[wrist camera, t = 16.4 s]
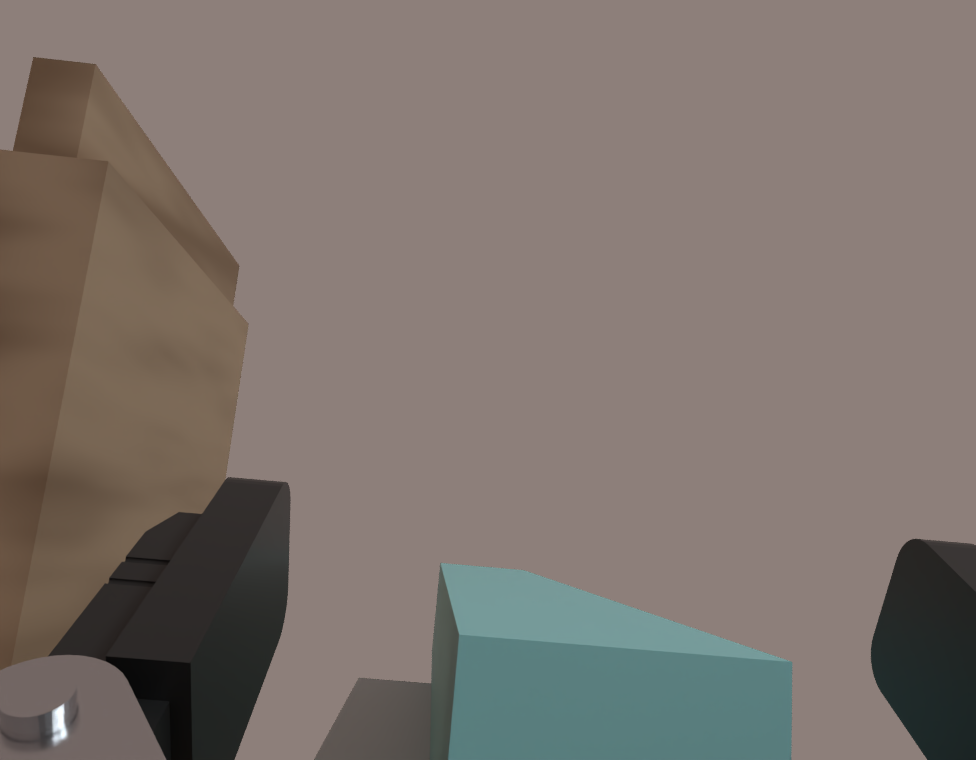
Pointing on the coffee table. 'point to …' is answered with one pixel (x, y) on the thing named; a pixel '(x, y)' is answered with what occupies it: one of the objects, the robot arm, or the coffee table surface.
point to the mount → (101, 352)
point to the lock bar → (591, 679)
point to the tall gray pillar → (381, 723)
